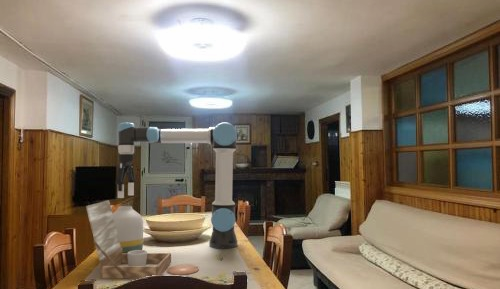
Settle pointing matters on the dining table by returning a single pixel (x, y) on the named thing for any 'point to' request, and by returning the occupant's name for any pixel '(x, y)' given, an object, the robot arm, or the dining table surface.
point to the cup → (137, 258)
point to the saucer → (182, 269)
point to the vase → (129, 228)
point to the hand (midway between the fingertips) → (126, 196)
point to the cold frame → (118, 247)
